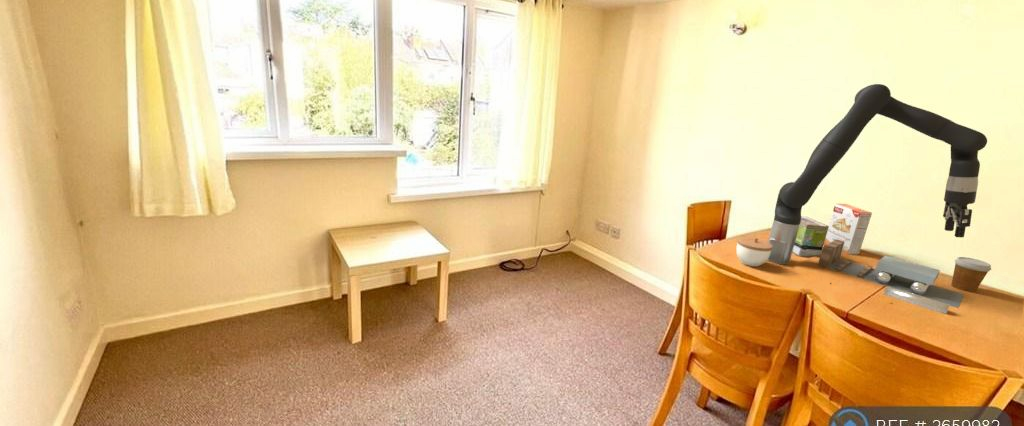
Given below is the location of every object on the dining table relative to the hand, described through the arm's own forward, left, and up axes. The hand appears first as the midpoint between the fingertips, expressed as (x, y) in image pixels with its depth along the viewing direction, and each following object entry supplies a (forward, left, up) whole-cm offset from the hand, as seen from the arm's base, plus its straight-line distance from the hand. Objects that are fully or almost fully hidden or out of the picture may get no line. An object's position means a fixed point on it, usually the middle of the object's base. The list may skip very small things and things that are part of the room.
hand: (953, 233), depth 150 cm
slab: (-3, +8, -18) cm, 20 cm away
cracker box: (+23, +34, -23) cm, 47 cm away
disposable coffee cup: (+14, -7, -23) cm, 28 cm away
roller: (-19, +2, -23) cm, 30 cm away
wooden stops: (-3, +26, -23) cm, 35 cm away
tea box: (+4, +45, -23) cm, 51 cm away
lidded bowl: (-33, +51, -23) cm, 65 cm away
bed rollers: (-3, +8, -22) cm, 24 cm away
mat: (-3, +11, -23) cm, 26 cm away
